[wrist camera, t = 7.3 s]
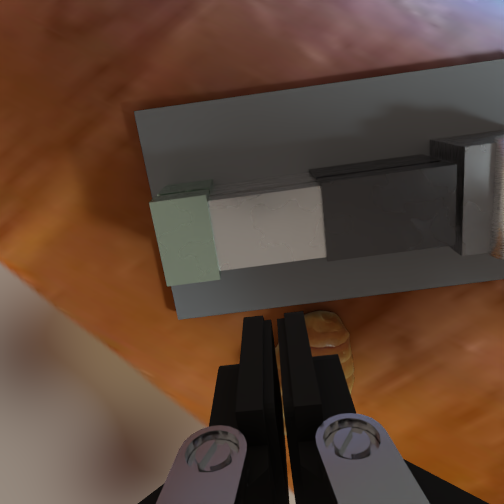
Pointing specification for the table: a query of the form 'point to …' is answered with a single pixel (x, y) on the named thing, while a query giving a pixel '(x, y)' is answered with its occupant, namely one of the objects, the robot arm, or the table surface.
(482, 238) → the stand
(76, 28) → the table surface
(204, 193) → the bar
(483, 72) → the slate mat
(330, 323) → the pastry
